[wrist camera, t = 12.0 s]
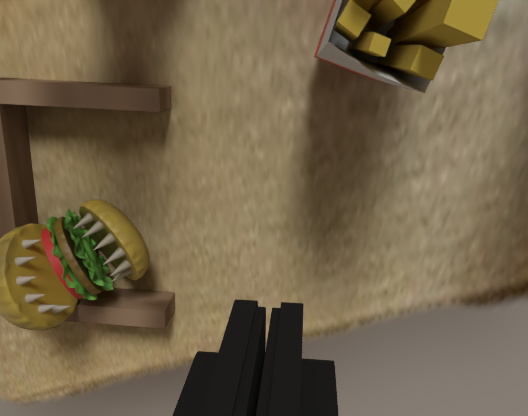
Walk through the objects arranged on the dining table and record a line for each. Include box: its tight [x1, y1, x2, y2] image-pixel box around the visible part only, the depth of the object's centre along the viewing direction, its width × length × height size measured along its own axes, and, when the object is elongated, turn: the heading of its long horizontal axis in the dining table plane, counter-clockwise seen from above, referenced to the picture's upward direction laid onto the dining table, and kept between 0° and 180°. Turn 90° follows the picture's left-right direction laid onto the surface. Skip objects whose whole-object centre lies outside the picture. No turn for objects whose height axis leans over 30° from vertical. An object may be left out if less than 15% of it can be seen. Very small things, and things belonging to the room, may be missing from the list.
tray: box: [0, 78, 175, 329], centre depth 35 cm, size 12×18×3 cm
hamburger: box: [0, 200, 149, 331], centre depth 33 cm, size 8×7×12 cm
